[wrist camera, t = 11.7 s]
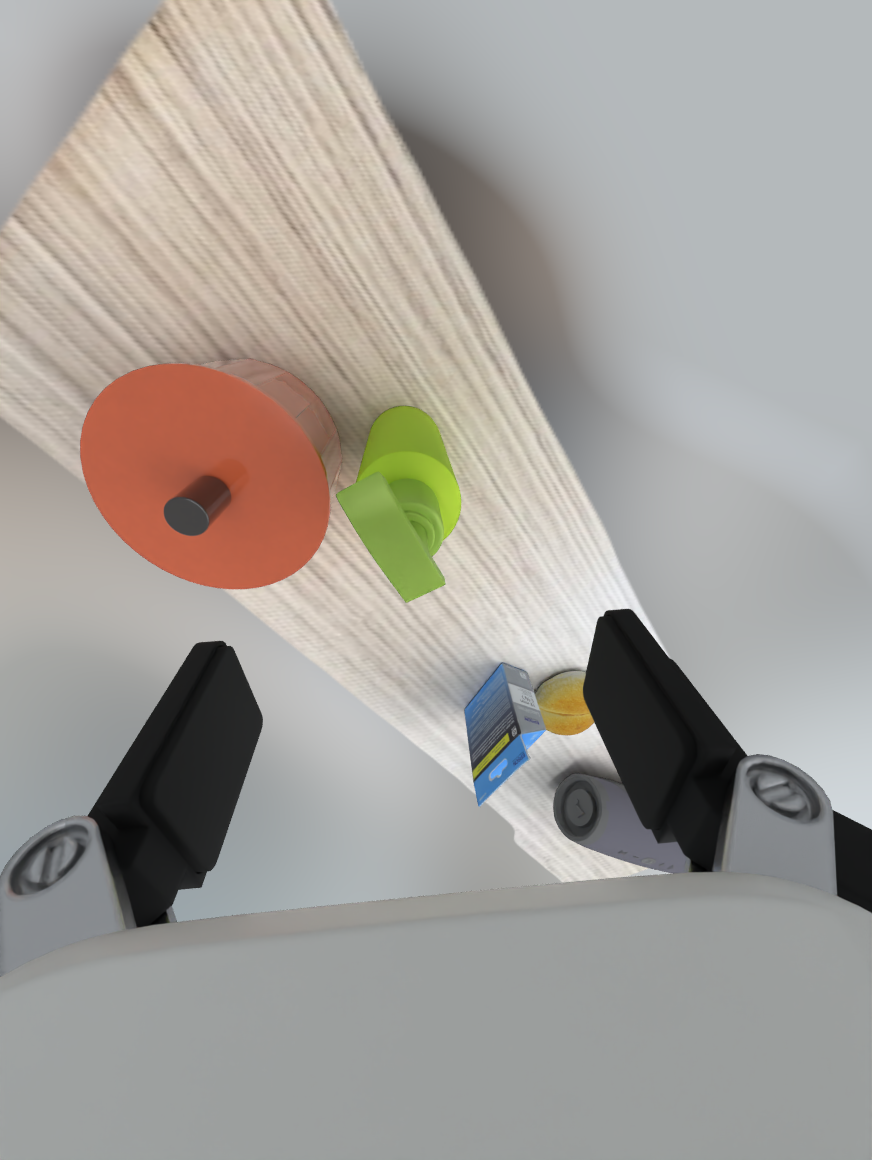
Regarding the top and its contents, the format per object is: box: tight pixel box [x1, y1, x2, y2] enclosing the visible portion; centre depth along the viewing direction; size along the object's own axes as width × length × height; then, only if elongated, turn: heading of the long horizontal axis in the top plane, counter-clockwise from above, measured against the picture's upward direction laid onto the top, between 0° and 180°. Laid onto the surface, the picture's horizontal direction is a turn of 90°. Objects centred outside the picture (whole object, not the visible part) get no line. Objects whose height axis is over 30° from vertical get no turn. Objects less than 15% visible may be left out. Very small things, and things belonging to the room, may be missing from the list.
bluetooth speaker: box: [553, 774, 686, 874], centre depth 59 cm, size 23×9×10 cm, turn 56°
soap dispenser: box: [336, 406, 461, 603], centre depth 25 cm, size 6×7×20 cm
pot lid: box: [80, 363, 331, 589], centre depth 23 cm, size 14×14×5 cm
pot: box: [199, 359, 342, 499], centre depth 29 cm, size 13×13×10 cm
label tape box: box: [464, 663, 546, 807], centre depth 44 cm, size 9×4×12 cm, turn 152°
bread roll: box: [535, 671, 594, 735], centre depth 49 cm, size 8×9×4 cm
